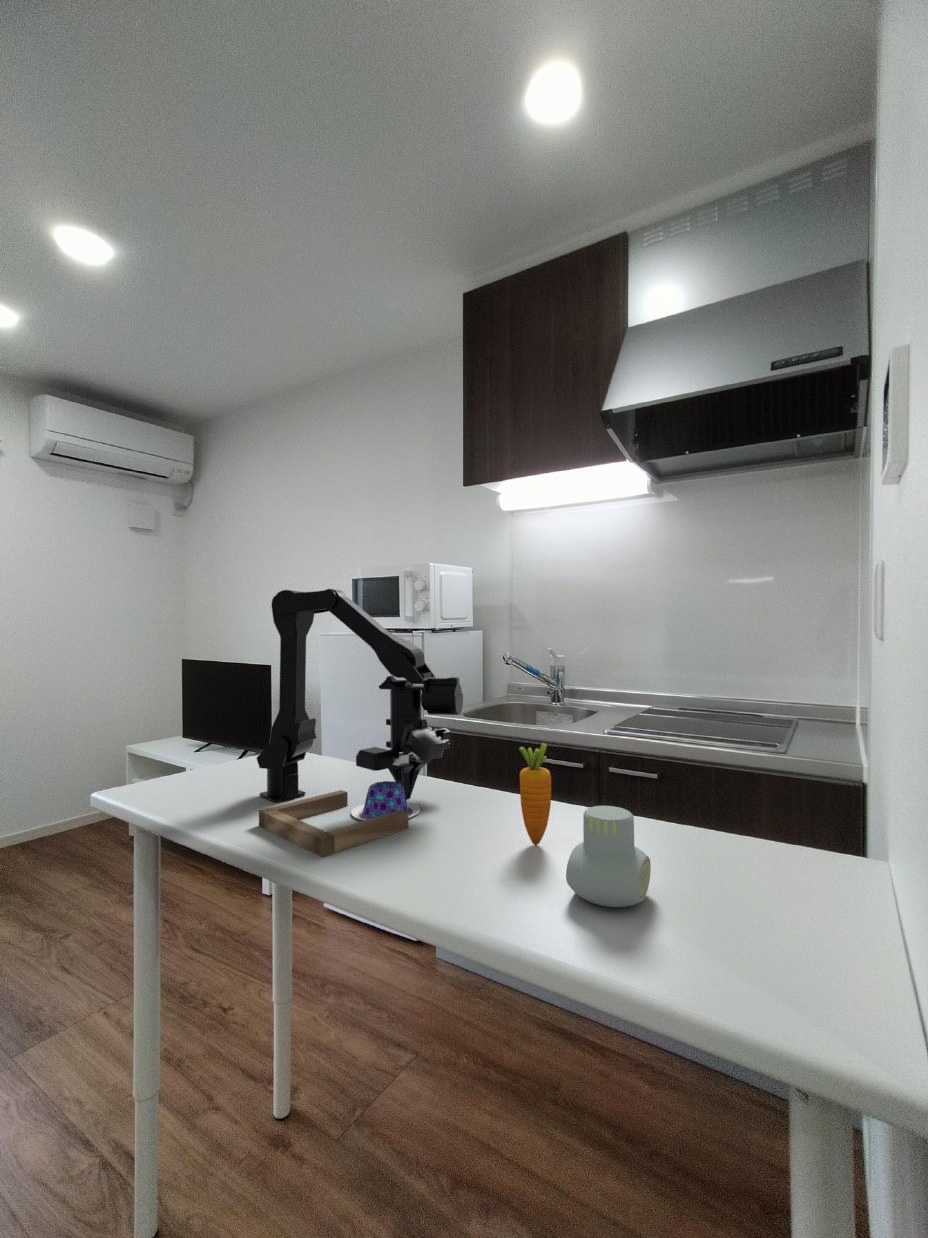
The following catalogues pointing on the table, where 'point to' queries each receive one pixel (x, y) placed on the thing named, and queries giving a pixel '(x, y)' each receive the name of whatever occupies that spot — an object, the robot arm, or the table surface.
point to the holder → (326, 843)
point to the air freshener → (608, 860)
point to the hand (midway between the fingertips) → (406, 799)
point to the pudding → (384, 801)
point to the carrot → (535, 793)
